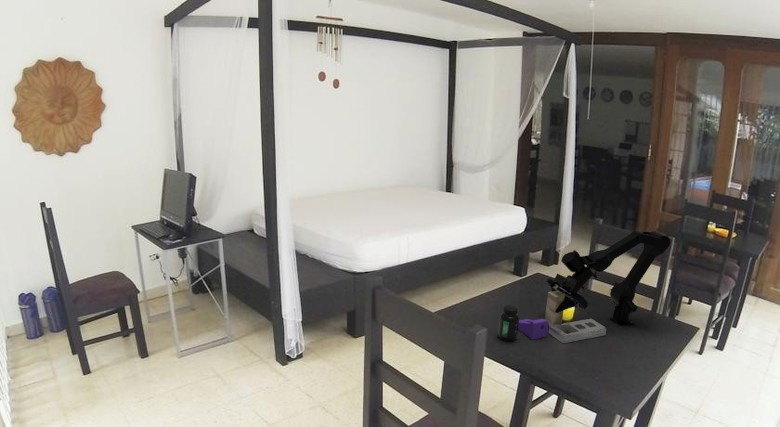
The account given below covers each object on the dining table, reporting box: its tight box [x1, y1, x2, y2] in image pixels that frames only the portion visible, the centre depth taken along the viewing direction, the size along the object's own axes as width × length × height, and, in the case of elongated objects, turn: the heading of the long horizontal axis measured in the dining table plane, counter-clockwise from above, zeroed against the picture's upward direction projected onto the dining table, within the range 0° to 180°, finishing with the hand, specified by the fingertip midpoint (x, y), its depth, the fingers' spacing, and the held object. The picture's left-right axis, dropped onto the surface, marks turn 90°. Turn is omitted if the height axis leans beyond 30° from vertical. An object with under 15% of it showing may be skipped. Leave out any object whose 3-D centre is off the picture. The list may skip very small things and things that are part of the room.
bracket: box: [518, 318, 549, 340], centre depth 188 cm, size 12×7×7 cm, turn 23°
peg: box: [544, 291, 565, 327], centre depth 191 cm, size 4×4×13 cm
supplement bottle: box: [498, 304, 520, 342], centre depth 182 cm, size 7×7×12 cm
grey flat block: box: [548, 318, 607, 344], centre depth 187 cm, size 20×8×3 cm, turn 111°
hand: (551, 309), depth 190 cm, fingers closed on peg, 4 cm apart
